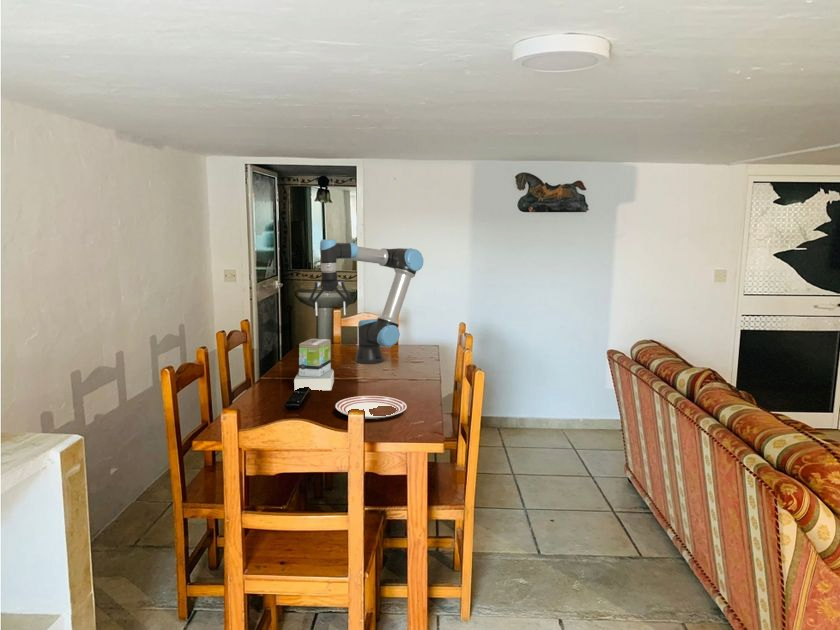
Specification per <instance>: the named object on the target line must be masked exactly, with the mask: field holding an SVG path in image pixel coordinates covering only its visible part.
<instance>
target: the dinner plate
mask: <svg viewBox="0 0 840 630" xmlns="http://www.w3.org/2000/svg"><path fill="white" fill-rule="evenodd" d="M334 406H335V407H334V408H335V409H336V410H337V411H338V412H340V413H341V414H343V415H346V416H348V411H349V410H351V409H359V410H363V409H364V411H365V419H364V420H366V419H375V420H379V419H378V418H383V419H387V418H389V417H393V416H395V415H398V414H401V413H403V412H405V411H406V409H407V407H408V406H407V404H406V403H405V402H404V401H402V400H400V399H397V398H395V397H394V398H393V397H390V396H383V395H381V396H380V395H359V396H353V397H352V396H351V397H348V398H344V399H341V400H339V401H337V402H336V403H335V405H334ZM378 406H392V407H394V408H396V410H397V411H396V412H395V413H393V414H391V415H386V416H373V414H372V415H371V414H370V412H369V409H373V408H377V407H378ZM386 417H387V418H386Z"/></svg>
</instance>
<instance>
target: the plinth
mask: <svg viewBox="0 0 840 630" xmlns="http://www.w3.org/2000/svg"><path fill="white" fill-rule="evenodd" d="M293 383H294V391H295V390H297V389H299V388H304V387H309V388H310V389H311V390H319V391H320V390H322V392H323V391H332V389H333V385H334V383H335V371H334V369H333V368H331V369H330V370H329V371H328V372H326V373H324V374H322V375H321V376H320V377H309V376H299V371H298V372H297V374H296V375H295V377H294V380H293Z"/></svg>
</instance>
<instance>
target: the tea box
mask: <svg viewBox="0 0 840 630" xmlns="http://www.w3.org/2000/svg"><path fill="white" fill-rule="evenodd" d="M331 343H332V342H331V339H329V338H327V339H326V338H310V339H307V340H305V341H303V342H300V343H299V344H298V346H299V347H298V350H299V352H298V355H299V357H298V372H299V376H309V377H320V376H321V375H322V374H324V373H326V372H328V371H329V370H330V369H332V368H331V364H332V362H331V360H332V359H331V357H332V355H331V353H332V351H331V350H332V349H331V348H332V347H331V346H332V345H331Z"/></svg>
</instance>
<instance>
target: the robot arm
mask: <svg viewBox="0 0 840 630" xmlns="http://www.w3.org/2000/svg"><path fill="white" fill-rule="evenodd" d="M319 243H320V244H319V250H320V251H319V252H320V253H319V254H320V271H321V273H320V274H321V275H320V276H321V277H320V278H321V280H320V281H321V282H320V281H316V282H314V288H313V290H312V292H311V294H310V296H309V298H308V301H309V302H311V303H312V308H313V310H315V316H316V317H318V316H319V315H318V314H319V311H318V301H317V300H318V299H319V298H320V297H321V295H322V294H323V292H329V291H330V292H331V291H332V292H333V291H335V292H336V293H337V295H339V296H340V297H341V299H342V300H343V316H346V315H347V313H346V309H347V308H348V307H349V304H348V302H349V301H351V300H352V297H351V296H350V294H349V291H348V289H347V288H346V286H345V282H344V280H342V281H339V280H338V272H337V271H338V266H337V265H338V264H337V263H338V262H337V260H338V259H339V260H340V259H342V260H347V261H348V260H349V261H355V262H356V261H357V262H363V263H365V262H366V263H372V264H378V265H379V266H381V267H386V268H390V269H392V270H394V272H395V274H394V278H393V280H392V281H393V282H392V284H391V286H390V291H388V296H387V299H386V302H385V305H384V308H383V310H382V314H381V315H380V316H379V317H377V318H373V319H372V318H370V319H362V320H361V319H360V321H358V325H357V328H358V329H357V330H358V336H357V337H358V347H357V351H356V355H355V359H354V360H355V362H356V363H357V364H365V365H367V364H368V365H372V364H381V363H383V362H384V356H383V353H382V349H381V347H384V348H385V347H386V348H391V347H393V346H394V345H396V344H397V343H398V341H399V339H400V336H401V334H400V329H399V325H400V324H399V321H398V319H399V316H400V314H401V310H402V308H403V304H404V301H405V298H406V295H407V292H408V290H409V289H408V288H409V286H410V283H411V280H412V278H414V277H415V276H416V273H417V272H418V271H420V270H421V269H422V268H423V266H424V257H423V254H422V253H421V251H419V250H418V249H416V248H404V247H403V248H397V247H396V248H384V247H383V248H381V249H378V248H371V247H366V246H365V247H364V246H363V247H362V246H358V245H357V244H356V243H355V242H337V241H336V239H332V238H330V239H321V240H320V242H319ZM320 286H321V288H322V289H321V290H320V291H319V292H318V294H317V295H316V296H315V293H316V291H317V289H318V288H319V287H320ZM338 286H340V287H341V288H342V289H343V292H344V293H345V295H346V296H345V295H344V294H343V293H342V291H341V290H339V288H338ZM314 296H315V297H314Z"/></svg>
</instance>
